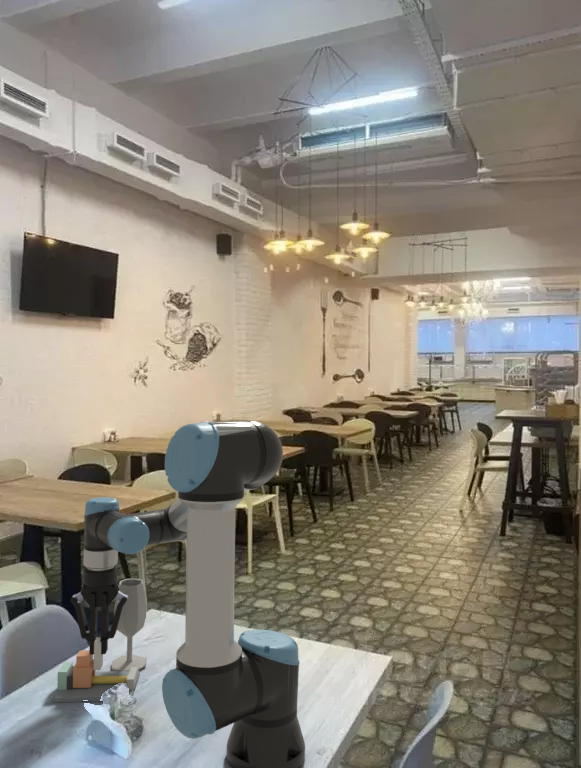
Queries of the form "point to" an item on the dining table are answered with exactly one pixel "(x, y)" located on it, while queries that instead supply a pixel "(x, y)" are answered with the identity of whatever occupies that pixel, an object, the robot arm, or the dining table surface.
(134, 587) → the wineglass
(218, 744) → the dining table surface
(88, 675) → the sleeve
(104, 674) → the linear slide rail
